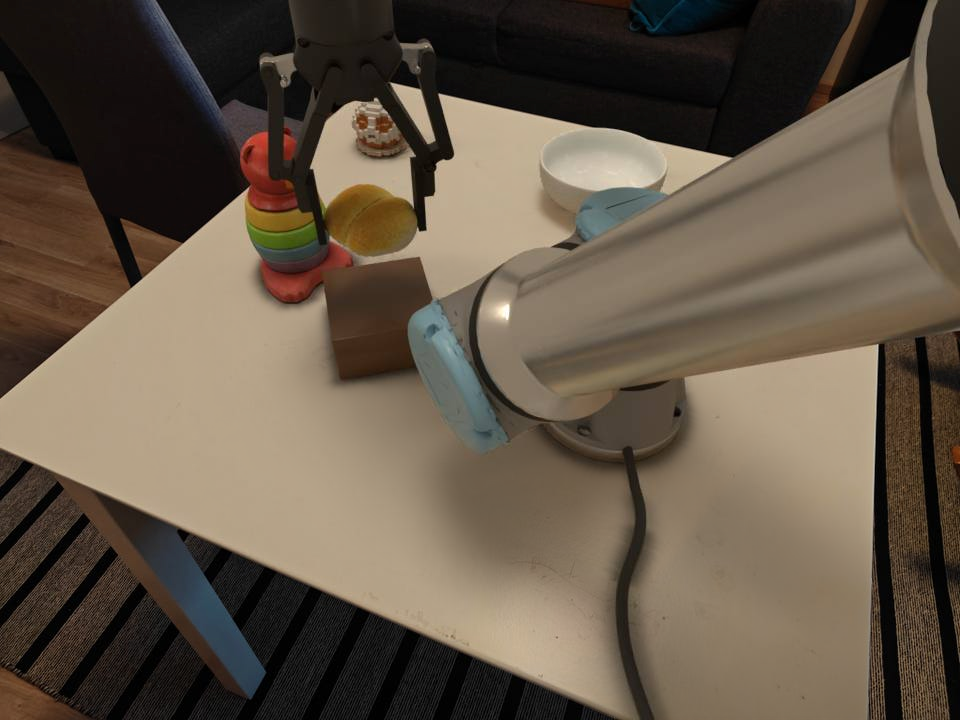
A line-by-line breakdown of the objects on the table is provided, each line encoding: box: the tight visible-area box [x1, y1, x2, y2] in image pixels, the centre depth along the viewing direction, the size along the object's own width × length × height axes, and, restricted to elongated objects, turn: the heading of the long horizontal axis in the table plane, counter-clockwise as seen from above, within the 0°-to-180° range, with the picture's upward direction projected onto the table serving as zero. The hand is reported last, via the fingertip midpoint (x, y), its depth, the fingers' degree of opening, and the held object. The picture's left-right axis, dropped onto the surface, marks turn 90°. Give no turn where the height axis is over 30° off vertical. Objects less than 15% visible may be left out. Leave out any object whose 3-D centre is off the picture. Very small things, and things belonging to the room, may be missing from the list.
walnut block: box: [322, 256, 434, 381], centre depth 71 cm, size 11×11×6 cm
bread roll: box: [323, 183, 418, 258], centre depth 62 cm, size 8×9×4 cm
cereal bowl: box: [538, 127, 669, 215], centre depth 89 cm, size 17×17×7 cm
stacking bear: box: [239, 125, 354, 303], centre depth 74 cm, size 11×10×18 cm
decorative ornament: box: [350, 98, 408, 157], centre depth 95 cm, size 8×8×15 cm
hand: (372, 229), depth 63 cm, fingers closed on bread roll, 9 cm apart
